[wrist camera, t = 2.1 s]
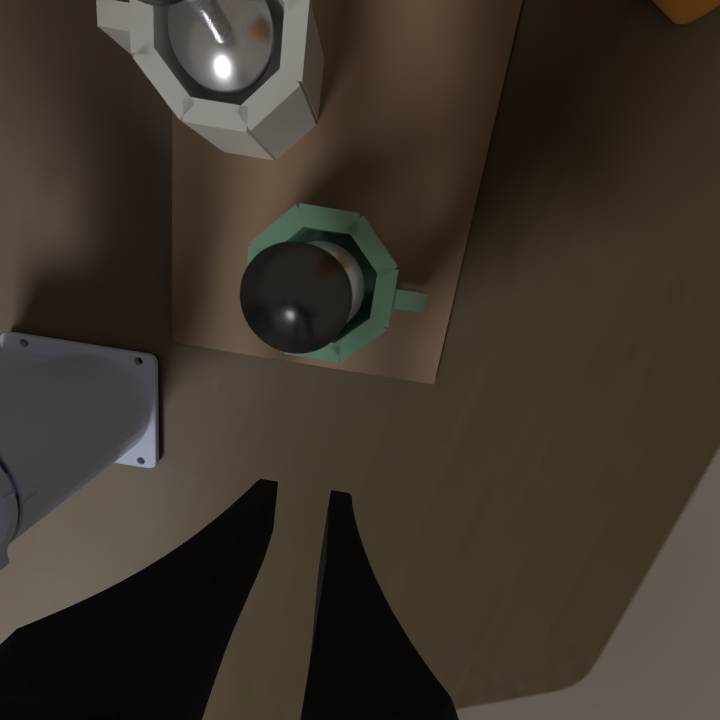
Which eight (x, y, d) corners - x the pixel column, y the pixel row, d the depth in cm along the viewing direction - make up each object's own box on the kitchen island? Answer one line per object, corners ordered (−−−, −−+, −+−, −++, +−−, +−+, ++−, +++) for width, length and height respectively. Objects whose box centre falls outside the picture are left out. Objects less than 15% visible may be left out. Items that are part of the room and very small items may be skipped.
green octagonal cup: (266, 330, 20) (242, 347, 16) (276, 209, 18) (251, 195, 15) (404, 352, 20) (412, 374, 16) (428, 234, 18) (443, 226, 15)
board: (176, 340, 21) (171, 342, 21) (178, -57, 16) (172, -67, 15) (432, 381, 21) (434, 384, 21) (519, 1, 16) (524, -7, 15)
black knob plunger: (275, 321, 17) (226, 352, 11) (283, 234, 15) (233, 220, 10) (357, 335, 17) (350, 371, 11) (371, 249, 15) (370, 242, 10)
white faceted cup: (154, 140, 18) (93, 106, 14) (152, -24, 16) (82, -115, 12) (313, 166, 18) (296, 140, 14) (329, 6, 16) (316, -75, 12)
